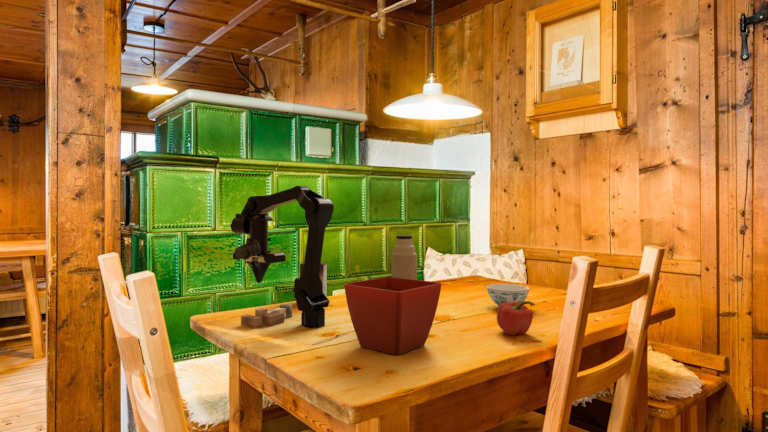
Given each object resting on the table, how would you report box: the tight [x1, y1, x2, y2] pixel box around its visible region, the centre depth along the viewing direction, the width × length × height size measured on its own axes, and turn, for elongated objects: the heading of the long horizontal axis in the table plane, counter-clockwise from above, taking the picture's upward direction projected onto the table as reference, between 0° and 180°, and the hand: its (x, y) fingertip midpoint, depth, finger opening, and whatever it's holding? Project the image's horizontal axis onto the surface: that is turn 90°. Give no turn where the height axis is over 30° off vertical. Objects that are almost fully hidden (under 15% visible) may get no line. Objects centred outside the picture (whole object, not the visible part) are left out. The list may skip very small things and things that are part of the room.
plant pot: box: [343, 276, 442, 356], centre depth 128 cm, size 19×19×17 cm
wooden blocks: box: [240, 312, 285, 330], centre depth 147 cm, size 8×10×4 cm
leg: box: [254, 303, 293, 326], centre depth 152 cm, size 14×4×4 cm, turn 149°
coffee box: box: [299, 261, 328, 303], centre depth 179 cm, size 9×6×16 cm
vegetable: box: [496, 300, 536, 336], centre depth 141 cm, size 11×10×10 cm
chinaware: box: [486, 283, 530, 308], centre depth 177 cm, size 15×15×8 cm
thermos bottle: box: [391, 234, 418, 280], centre depth 152 cm, size 8×8×28 cm
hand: (258, 282), depth 157 cm, fingers closed
